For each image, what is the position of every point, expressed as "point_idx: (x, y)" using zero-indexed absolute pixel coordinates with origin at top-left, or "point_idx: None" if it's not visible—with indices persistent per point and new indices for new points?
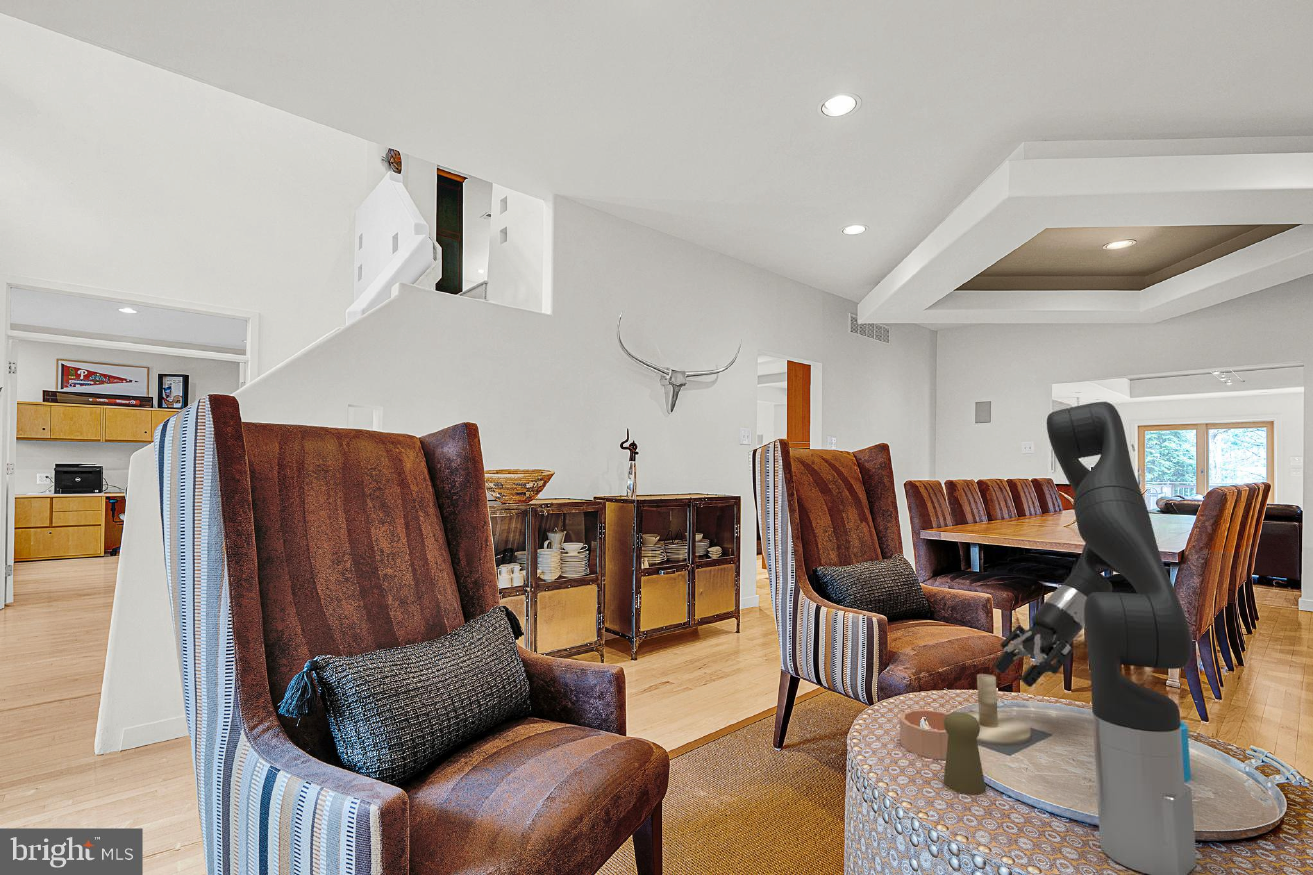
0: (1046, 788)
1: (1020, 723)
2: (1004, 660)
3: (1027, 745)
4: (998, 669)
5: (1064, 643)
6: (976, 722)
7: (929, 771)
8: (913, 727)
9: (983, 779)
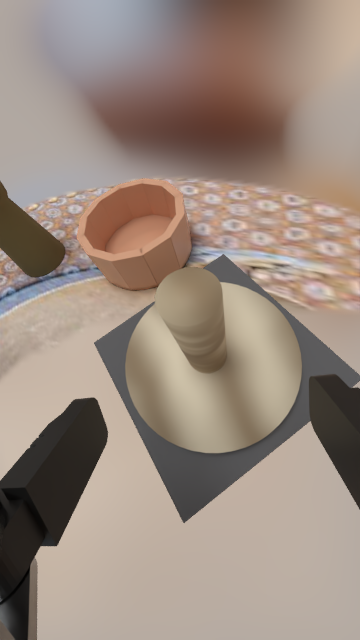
0: (4, 347)
1: (215, 441)
2: (347, 441)
3: (126, 400)
4: (310, 396)
5: None
6: None
7: None
8: (109, 191)
9: (19, 266)
